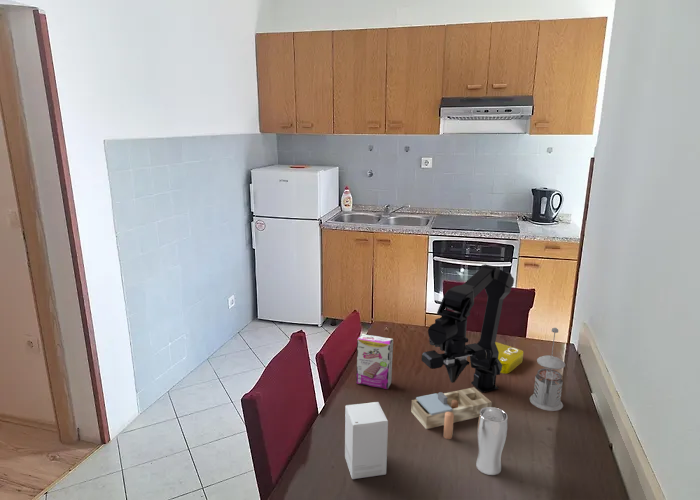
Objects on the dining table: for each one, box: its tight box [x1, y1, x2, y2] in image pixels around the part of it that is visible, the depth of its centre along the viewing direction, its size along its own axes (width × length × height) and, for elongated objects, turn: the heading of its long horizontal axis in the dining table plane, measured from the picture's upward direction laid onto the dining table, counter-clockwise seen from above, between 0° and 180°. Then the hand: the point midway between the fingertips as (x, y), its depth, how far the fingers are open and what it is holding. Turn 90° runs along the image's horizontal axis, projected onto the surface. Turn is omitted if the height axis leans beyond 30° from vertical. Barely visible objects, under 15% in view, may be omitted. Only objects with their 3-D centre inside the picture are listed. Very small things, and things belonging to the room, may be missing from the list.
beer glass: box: [475, 406, 509, 476], centre depth 117 cm, size 7×7×15 cm
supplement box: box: [344, 401, 389, 480], centre depth 117 cm, size 9×9×15 cm
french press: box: [529, 327, 566, 412], centre depth 144 cm, size 10×12×25 cm
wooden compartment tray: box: [410, 386, 493, 430], centre depth 141 cm, size 22×9×4 cm, turn 111°
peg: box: [442, 412, 454, 440], centre depth 130 cm, size 2×2×7 cm
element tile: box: [495, 341, 524, 375], centre depth 174 cm, size 15×15×5 cm
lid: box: [415, 391, 452, 415], centre depth 138 cm, size 7×9×3 cm
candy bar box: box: [355, 333, 394, 390], centre depth 156 cm, size 11×5×16 cm, turn 71°
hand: (452, 382), depth 139 cm, fingers closed
